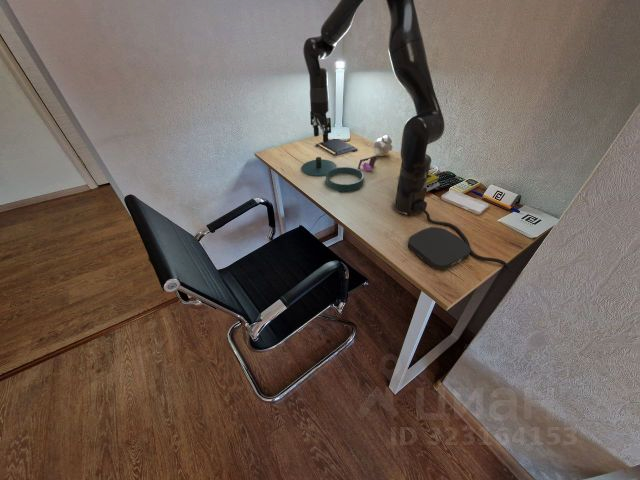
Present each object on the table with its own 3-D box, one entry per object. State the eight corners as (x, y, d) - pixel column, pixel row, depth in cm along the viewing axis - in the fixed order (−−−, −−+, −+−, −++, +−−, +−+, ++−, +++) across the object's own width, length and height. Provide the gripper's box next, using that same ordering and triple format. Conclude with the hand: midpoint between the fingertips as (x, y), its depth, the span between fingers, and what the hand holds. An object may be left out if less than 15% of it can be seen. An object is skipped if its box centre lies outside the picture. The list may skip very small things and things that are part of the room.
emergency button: (427, 182, 103) (399, 169, 112) (425, 192, 106) (398, 178, 115) (443, 175, 106) (414, 163, 116) (440, 185, 109) (412, 172, 119)
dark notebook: (358, 147, 139) (334, 154, 133) (358, 150, 140) (334, 157, 135) (337, 136, 152) (315, 142, 147) (337, 139, 153) (315, 145, 148)
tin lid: (343, 171, 123) (343, 160, 119) (311, 181, 117) (310, 169, 114) (325, 158, 134) (325, 147, 131) (295, 167, 129) (294, 156, 125)
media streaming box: (435, 229, 88) (438, 222, 86) (473, 255, 78) (477, 248, 76) (402, 244, 83) (403, 237, 81) (438, 274, 73) (440, 267, 71)
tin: (370, 185, 112) (371, 177, 110) (338, 196, 107) (338, 188, 104) (349, 170, 123) (350, 163, 120) (319, 180, 117) (319, 173, 115)
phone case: (488, 207, 96) (450, 192, 105) (489, 204, 95) (451, 189, 104) (478, 215, 93) (440, 199, 102) (480, 212, 92) (440, 196, 101)
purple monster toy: (376, 154, 119) (359, 158, 117) (382, 161, 117) (365, 166, 114) (372, 165, 125) (356, 170, 122) (377, 172, 123) (361, 177, 120)
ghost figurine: (386, 160, 129) (388, 140, 122) (369, 156, 133) (370, 137, 127) (394, 154, 134) (397, 134, 127) (377, 150, 139) (379, 131, 132)
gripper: (303, 96, 109) (306, 136, 120) (319, 104, 99) (321, 146, 110) (319, 94, 111) (320, 132, 122) (336, 101, 102) (336, 142, 113)
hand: (321, 139), depth 116 cm, fingers open, 8 cm apart
